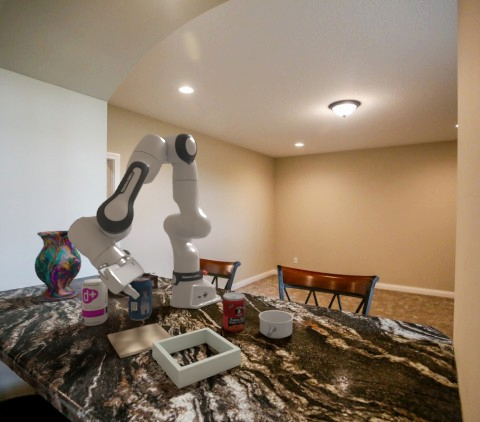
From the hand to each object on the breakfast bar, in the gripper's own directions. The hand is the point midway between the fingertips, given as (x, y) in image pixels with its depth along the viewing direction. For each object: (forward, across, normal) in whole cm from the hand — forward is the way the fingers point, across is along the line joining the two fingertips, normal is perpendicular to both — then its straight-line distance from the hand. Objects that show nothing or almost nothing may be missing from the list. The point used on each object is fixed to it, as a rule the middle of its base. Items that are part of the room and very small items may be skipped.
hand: (142, 293), depth 89 cm
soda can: (+5, 0, +6) cm, 8 cm away
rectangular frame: (+23, -12, -3) cm, 26 cm away
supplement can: (-5, +15, +26) cm, 30 cm away
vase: (-27, +45, +48) cm, 71 cm away
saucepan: (+40, 0, -19) cm, 44 cm away
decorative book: (-8, +60, +29) cm, 67 cm away
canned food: (+30, +9, -10) cm, 33 cm away
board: (+10, 0, +11) cm, 15 cm away
